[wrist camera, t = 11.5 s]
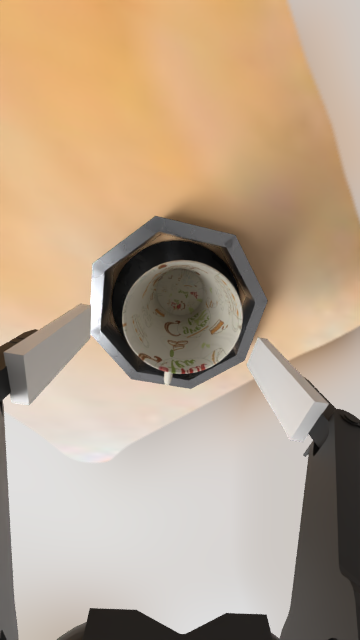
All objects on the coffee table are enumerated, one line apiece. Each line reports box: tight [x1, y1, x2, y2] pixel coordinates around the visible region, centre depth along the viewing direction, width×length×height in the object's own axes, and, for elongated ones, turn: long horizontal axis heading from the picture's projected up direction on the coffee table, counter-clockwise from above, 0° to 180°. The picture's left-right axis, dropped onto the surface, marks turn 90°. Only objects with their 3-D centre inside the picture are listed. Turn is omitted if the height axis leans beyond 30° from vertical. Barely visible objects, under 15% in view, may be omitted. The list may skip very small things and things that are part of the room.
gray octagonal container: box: [90, 216, 268, 389], centre depth 22 cm, size 18×18×3 cm
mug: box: [122, 260, 243, 385], centre depth 18 cm, size 8×13×10 cm, turn 172°
